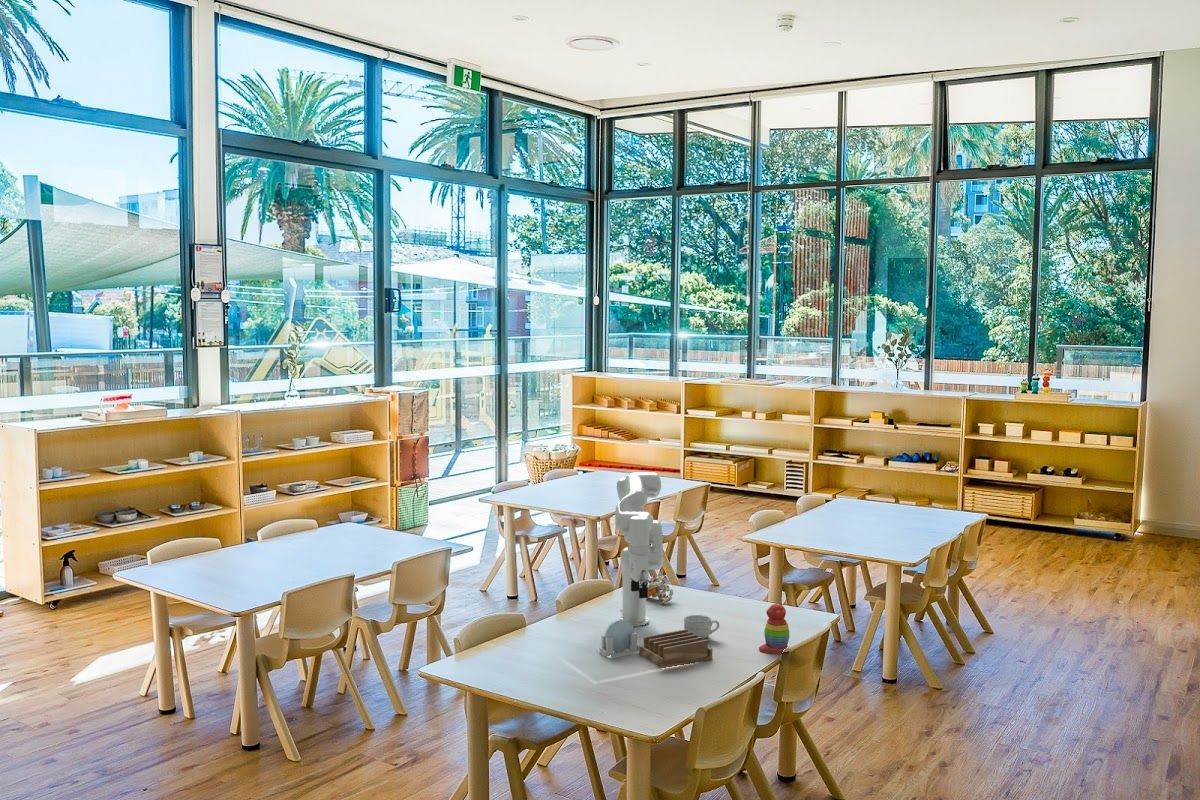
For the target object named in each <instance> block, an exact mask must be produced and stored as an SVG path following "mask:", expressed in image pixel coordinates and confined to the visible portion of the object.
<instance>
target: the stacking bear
mask: <svg viewBox="0 0 1200 800" xmlns="http://www.w3.org/2000/svg"><path fill="white" fill-rule="evenodd" d="M765 613H766V615H767V617H768V619H767V620H766V622H765V627H764V634H763V635H764V641H765V643H764V644H762V645H760V646H759V647H758V650H759V651H760V652H762V653H766V654H773V655H774V654H775V655H782V652H783V650H784V649H786V648H787V647H788V648H789V645H788V643H789V640H790V628H789V623H788V622H787V620H786V619H785V618H786V614H787V610H786V608H785V607H784V606H783V604H782V603H781V602H779V603H774V604H772V605H770V607H768V609H766V610H765Z"/></svg>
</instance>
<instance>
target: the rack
mask: <svg viewBox="0 0 1200 800" xmlns="http://www.w3.org/2000/svg"><path fill="white" fill-rule="evenodd" d="M638 655H640V656H642V657H643V658H645V659H646V660H648V661H650V662H651V663H654V664H656V665H657V666H659V668H660V667H661V668H666V667H672V666H677V665H684V664H689V665H691V664H690V663H693V664H696V663H695V662H698V663H702V662H701V661H703V662H706V661H705V660H708V661H712V660H713V648H711V647H709V640H708V639H703V637H698V635H697V634H695V635H693V632H688V630H687V629H685V630H684V629H680V630H674V631H670V632H664V633H659V634H652V635H648V636H643V645H640V646H639V653H638ZM711 659H712V660H711ZM684 666H685V665H684Z"/></svg>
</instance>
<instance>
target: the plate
mask: <svg viewBox="0 0 1200 800" xmlns="http://www.w3.org/2000/svg"><path fill="white" fill-rule="evenodd" d="M631 633H635V629H634V626H632V625H631V624H630V623H629V622H627V621H625V620H621V619H620V620H619V619H616V620H614V621H613V622H611V623H610V624H609V625H608V627H607V628H606V631H605V633H604V635H605V643H606V638H609V637H613V651H615V652H622V651H624V650H626V649H627V648H628V647H629V646H630V634H631Z"/></svg>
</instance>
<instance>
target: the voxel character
mask: <svg viewBox="0 0 1200 800" xmlns="http://www.w3.org/2000/svg"><path fill="white" fill-rule="evenodd" d="M665 577H666V576H665V575H663V574H662V573H660V572H658V573H657V574H656V575H652V576H650V577H648V598H650V597H652V598H653V599H654V598H658V599H659V600H662V599H663V600H662V601H660V603H659V604H660V605H664V604H665V603H668V602H670V601H671V600H673V595H674V589H673V588H670V586H669V584H668V583H666V581H665ZM666 592H668V595H667V594H666Z"/></svg>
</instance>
